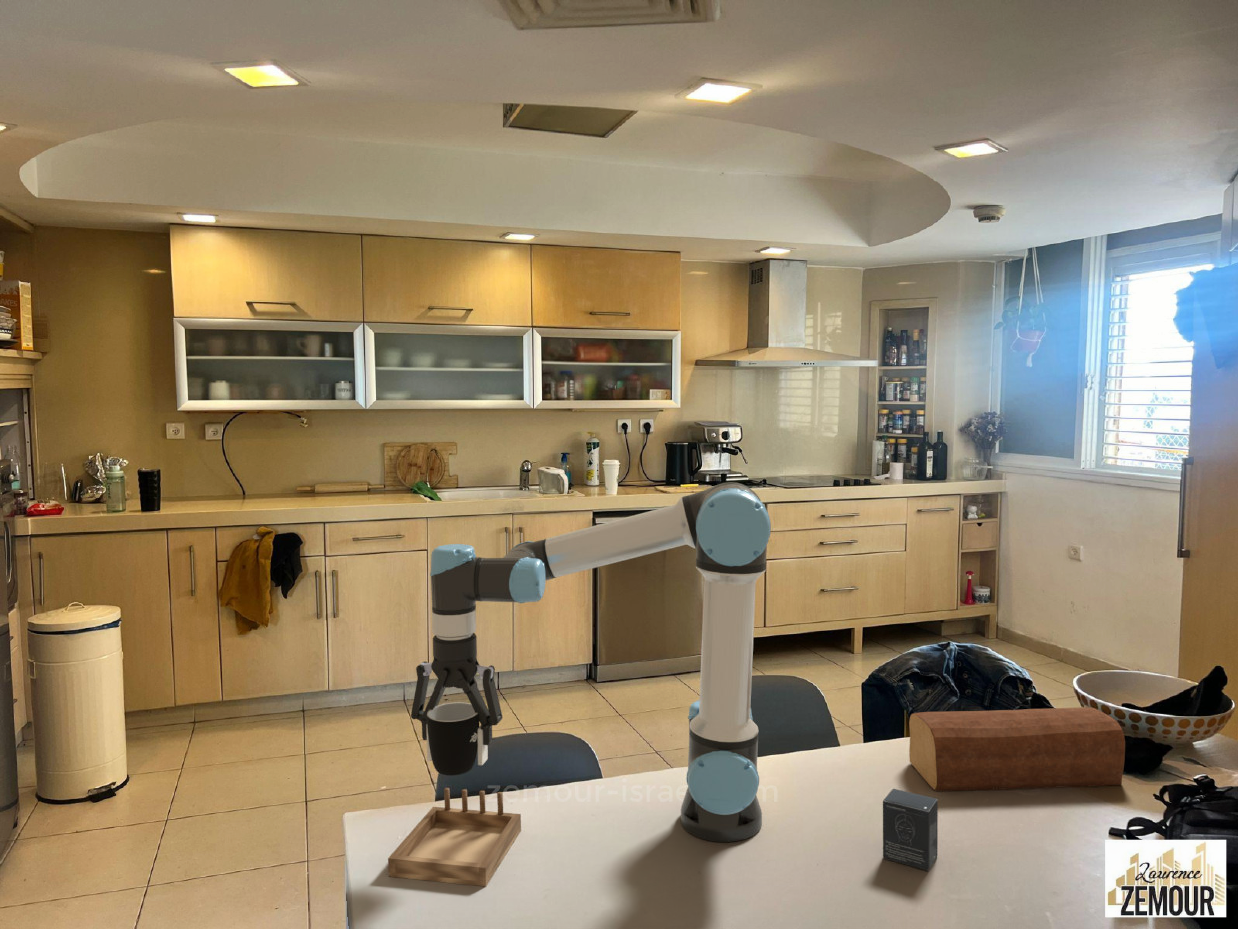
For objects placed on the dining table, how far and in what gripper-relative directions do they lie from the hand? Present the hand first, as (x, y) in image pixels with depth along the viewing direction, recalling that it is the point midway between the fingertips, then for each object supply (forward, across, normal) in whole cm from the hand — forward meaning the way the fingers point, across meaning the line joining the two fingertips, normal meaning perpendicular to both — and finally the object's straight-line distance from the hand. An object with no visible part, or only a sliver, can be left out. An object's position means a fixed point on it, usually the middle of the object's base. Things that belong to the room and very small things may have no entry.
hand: (457, 759), depth 152 cm
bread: (+16, -102, -49) cm, 115 cm away
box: (+16, -78, -12) cm, 80 cm away
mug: (+1, 0, 0) cm, 1 cm away
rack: (+17, 0, 0) cm, 17 cm away
